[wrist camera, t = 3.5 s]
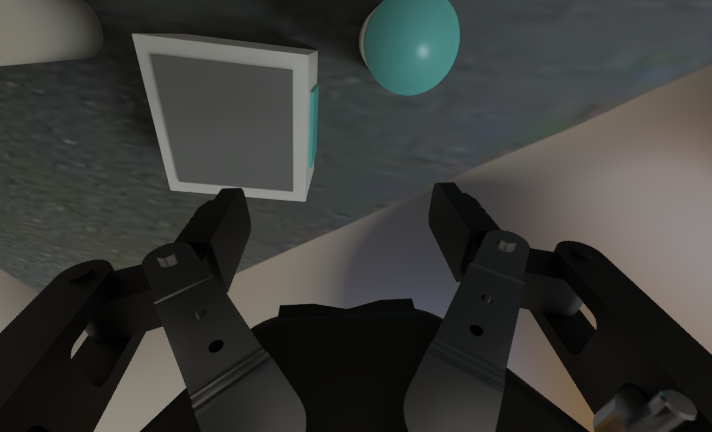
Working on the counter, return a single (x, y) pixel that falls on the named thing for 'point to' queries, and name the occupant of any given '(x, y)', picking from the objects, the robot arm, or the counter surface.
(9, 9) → the white spice bottle
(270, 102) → the grey unit
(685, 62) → the counter surface
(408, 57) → the teal capped canister
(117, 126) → the counter surface
